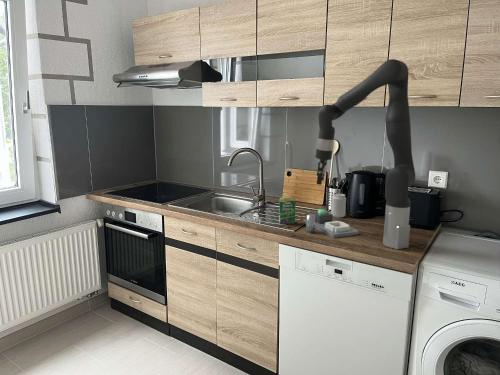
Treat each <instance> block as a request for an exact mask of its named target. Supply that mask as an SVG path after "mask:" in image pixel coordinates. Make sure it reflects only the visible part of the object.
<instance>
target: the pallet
mask: <svg viewBox="0 0 500 375" xmlns="http://www.w3.org/2000/svg"><path fill="white" fill-rule="evenodd" d="M311 214H313V215H315V230H318V231H320V232H322V233H323V234H325V235H327V236H328V237H331V238H333V239H335V238H342V237H350V236H354V235H355V236H357V235H359V234H360V231H359V230H358V229H356V228H353V227H351V226H350V224H349V223H346V222H343V221H339V220H335V219H333V218H334V217H333V214H331V212H328V211H327V214H325V215H320V214H318V211H312V212H311ZM304 222H305V223H304ZM303 223H304V224H306V218H304V219H303Z"/></svg>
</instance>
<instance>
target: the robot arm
mask: <svg viewBox="0 0 500 375" xmlns="http://www.w3.org/2000/svg"><path fill="white" fill-rule="evenodd" d="M385 85H387V88H388V103H387V108H386V114H385V132H386V137H387V141H388V144H389V146H390V148H391V150H392V154H393V164H394V165H393V168H391V169H388V172H387V174H386V175H385V182H384V183H385V185H384V190H385V191H384V198H385V202H386V203H385V213H384V226H383V237H382V238H383V239H382V244H383V246H385V247H387V248H391V249H395V250H402V249H408V248H409V244H410V233H411V225H410V223H409V222H410V212H411V198H409V188H411V186H413V185H414V183H415V182H416V171H415V165H414V160H413V153H412V152H413V151H412V150H413V149H412V148H413V146H412V126H411V125H412V124H411V116H410V105H409V104H410V103H409V94H408V93H409V92H408V90H409V67H408V66H407V64H406V63H405V62H404V61H401V60H398V59H395V58H394V59H393V58H391V59H387V60H386V61H384V62H383V63H382V64H381V65H379V66H378V67H377V68H376V69H375V70H374V71H373V72H372V73H371V74H369V75H368V76H367V77H366V78H364V80H362V81H361V82H359V83H358V84H357V85H355V86H354V87H352V88H350V89H349V90H347V91H346V92H344V93H343V94H342V95H340V96H339V97H338V98H337V100H336V102H334V103H332V104H324V105H322V106H320V109H319V111H318V127H319V130H318V131H319V132H318V138H317V142H316V150H315V155H314V156H315V158H316V159H318V160H319V161H318V162H317V169H316V170H317V171H316V176H317V178H316V184H317V185H320V186H321V185H322V181H324V180H325V174H326V171H327V166H328V161H330V160H332V159H333V151H334V144H335V143H334V141H335V133H336V129H335V127H334V126H333V121H336V120H337V119H339V118H340V117H342V116H343V115H345V113H346V112H348V111H349V110H351V109H353V108H354V107H357V106H358V105H359V104H360V103H362V102H364V100H365V99H366V98H367V97H369V95H371V94H372V93H373V92H374V91H376V90H378V89H379V88H382V87H384V86H385Z"/></svg>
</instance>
